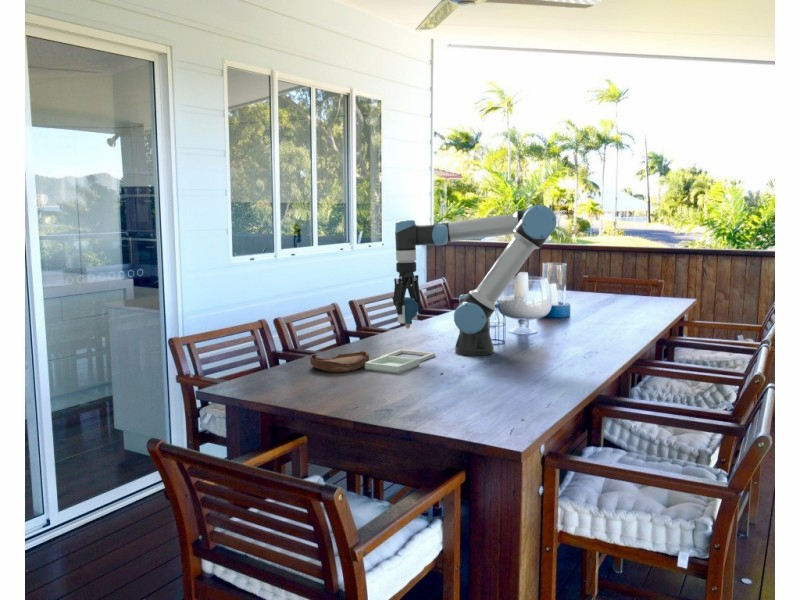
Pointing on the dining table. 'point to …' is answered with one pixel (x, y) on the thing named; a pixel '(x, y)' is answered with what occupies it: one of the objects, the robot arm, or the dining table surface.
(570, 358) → the dining table surface
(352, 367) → the basket
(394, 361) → the tray
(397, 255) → the robot arm
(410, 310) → the light bulb
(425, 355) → the pale square frame
